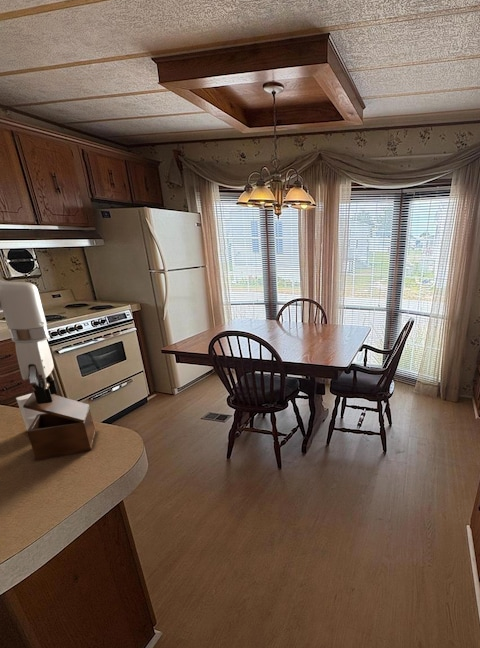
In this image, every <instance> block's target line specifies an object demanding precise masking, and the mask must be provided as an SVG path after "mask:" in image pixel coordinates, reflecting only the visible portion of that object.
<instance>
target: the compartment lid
mask: <svg viewBox="0 0 480 648" xmlns="http://www.w3.org/2000/svg"><path fill="white" fill-rule="evenodd" d="M49 386H50V383H49V382H47V388H49ZM31 393H32V394H31ZM31 393H30V394H31V396H30V397H29V398H28V400H27V401H26V403H25V404H24V406H23V407H24V408H27V409H31V410H35V411H39V412H43V413H47V414H51V415H55V416H59V417H63V418H67V419H71V420H74V421H78V422H82V423H83V422H84V419H85V416H86V413H87V411H88V408H90V404H89V403H85V402H81V401H78V400H74V399H71V398H67V397H63V396H60V395H57V394H55V395H53V394H52V395H51V396H52V400H53V401H52V402H51V403H44V404H38V403H37V401H36V397H35V394H34V391H32V392H31Z"/></svg>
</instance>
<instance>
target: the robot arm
mask: <svg viewBox="0 0 480 648" xmlns="http://www.w3.org/2000/svg"><path fill="white" fill-rule="evenodd" d="M0 311H2V312H3V317H4V320H5V322H6V327H7V329H8V332H9V336H10V339H11V342H13V343H15V354H16V359H17V364H18V367H19V371H20V375H21V379H22V380H23V381H28V380H29V384H30V385H31V386H32V392H34V394H35V397H36V401H37V403H38V404H44V403H51V402H52V401H53V400H52V396H51V395H52V394H55V395H57V394H59V393H58V389H57V384H56V381H55V377H54V375H53V370H54V367H55V364H54V359H53V355H52V352H51V349H50V345H49V342H48V340H49V339H50V338H51V336H50V335H51V334H50V332H49V327H48V323H47V319H46V316H45V312H44V309H43V305H42V301H41V296H40V293H39V290H38V287H37V285H35V284H34V283H31V282H27V281H6V280H1V279H0ZM47 382H49V383H50V386H49V388H47Z"/></svg>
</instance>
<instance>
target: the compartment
mask: <svg viewBox="0 0 480 648" xmlns="http://www.w3.org/2000/svg"><path fill="white" fill-rule="evenodd" d="M94 424H95V423H94V420H93V417H92V413H91V408H90V407H89V408H88V411H87V413H86V416H85V419H84V422H83V423H82V422H78V421H74V420H71V419H67V418H63V417H59V416H55V415H51V414H47V413H44V414H37V416H36V418H35V419H34V421H33V422H32V424H31V426H30V427H29V429H28V430H27V429H26V435H27V436H28V439H29V442H30V445H31V449H32V451H33V454H34V457H35V460H36V461H37V460H42V459H43V460H44V459H48V458H54V457H59V456H65V455H70V454H75V453H82V452H87V451H88V452H89V451H92V448H93V444H94V440H95V436H96V433H97V431H96V428H95V425H94Z"/></svg>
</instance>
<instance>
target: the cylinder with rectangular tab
mask: <svg viewBox="0 0 480 648" xmlns="http://www.w3.org/2000/svg"><path fill="white" fill-rule="evenodd" d="M32 393H33V392H31V393H28V394H25V395H20V396H17V397H15V399H16V402H17V405H18V408H19V411H20V414H21V417H22V420H23V423H24V426H25V428H26V431H27V430H28V429H29V427H30V426H31V424H32V422H33V421H34V419H35V418H36V416H37V414H44V413H43V412H39V411H35V410H31V409H27V408H24V407H23V406H24V404H25V403H26V401H27V400H28V398H29V397H30V396H31V394H32ZM53 395H56V394H53Z"/></svg>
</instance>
